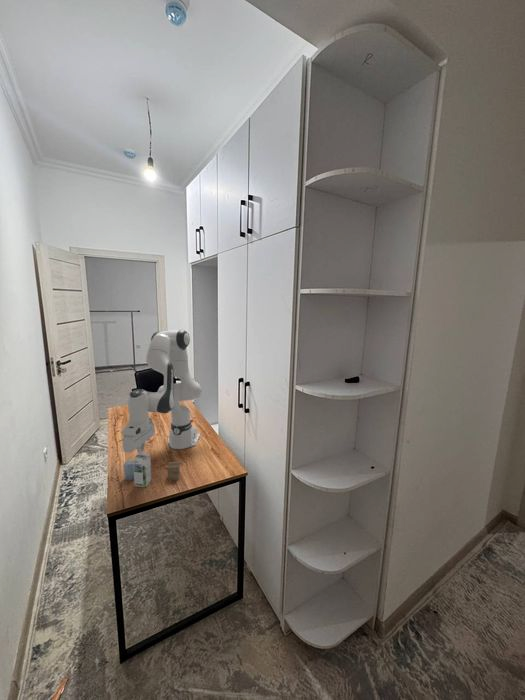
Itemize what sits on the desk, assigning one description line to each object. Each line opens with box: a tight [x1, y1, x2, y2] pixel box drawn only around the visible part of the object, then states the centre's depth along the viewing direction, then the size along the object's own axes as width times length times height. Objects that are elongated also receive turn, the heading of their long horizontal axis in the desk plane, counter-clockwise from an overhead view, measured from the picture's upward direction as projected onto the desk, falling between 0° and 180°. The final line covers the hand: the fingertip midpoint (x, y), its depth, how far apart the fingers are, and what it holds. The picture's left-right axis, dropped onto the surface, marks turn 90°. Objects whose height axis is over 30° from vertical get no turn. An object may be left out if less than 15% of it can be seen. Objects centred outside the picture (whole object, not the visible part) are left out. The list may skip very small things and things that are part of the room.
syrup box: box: [132, 452, 152, 488], centre depth 139 cm, size 6×6×14 cm
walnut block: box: [166, 461, 180, 482], centre depth 145 cm, size 5×5×7 cm
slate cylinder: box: [123, 459, 134, 482], centre depth 144 cm, size 5×5×8 cm
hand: (141, 451), depth 137 cm, fingers closed
